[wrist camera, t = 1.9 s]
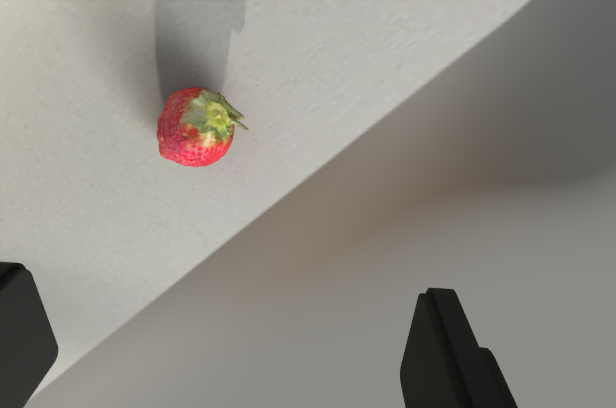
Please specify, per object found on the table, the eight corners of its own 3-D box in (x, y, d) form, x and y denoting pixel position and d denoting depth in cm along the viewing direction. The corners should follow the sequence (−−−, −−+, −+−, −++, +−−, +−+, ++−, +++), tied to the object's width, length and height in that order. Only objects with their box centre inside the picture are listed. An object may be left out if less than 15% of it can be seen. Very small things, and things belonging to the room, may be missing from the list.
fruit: (140, 115, 24) (100, 145, 20) (217, 61, 23) (192, 80, 18) (186, 170, 26) (158, 208, 22) (261, 123, 24) (247, 154, 20)
